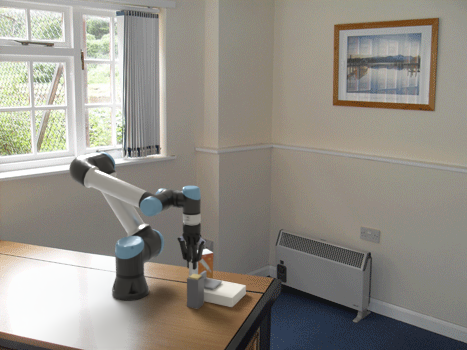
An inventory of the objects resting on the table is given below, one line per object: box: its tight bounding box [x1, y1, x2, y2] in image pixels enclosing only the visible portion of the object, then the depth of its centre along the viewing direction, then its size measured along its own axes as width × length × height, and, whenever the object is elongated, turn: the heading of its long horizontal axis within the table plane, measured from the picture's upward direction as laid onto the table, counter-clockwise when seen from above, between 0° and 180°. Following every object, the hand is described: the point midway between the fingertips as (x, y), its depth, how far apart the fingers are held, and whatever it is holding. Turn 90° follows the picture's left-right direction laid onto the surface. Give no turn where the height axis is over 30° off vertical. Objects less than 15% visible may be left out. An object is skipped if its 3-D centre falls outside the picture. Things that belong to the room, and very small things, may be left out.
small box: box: [191, 248, 214, 279], centre depth 239 cm, size 8×6×13 cm
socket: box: [204, 277, 247, 308], centre depth 223 cm, size 20×14×4 cm
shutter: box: [199, 271, 223, 290], centre depth 224 cm, size 8×8×4 cm
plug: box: [186, 274, 205, 310], centre depth 213 cm, size 5×5×13 cm
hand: (192, 275), depth 227 cm, fingers closed
